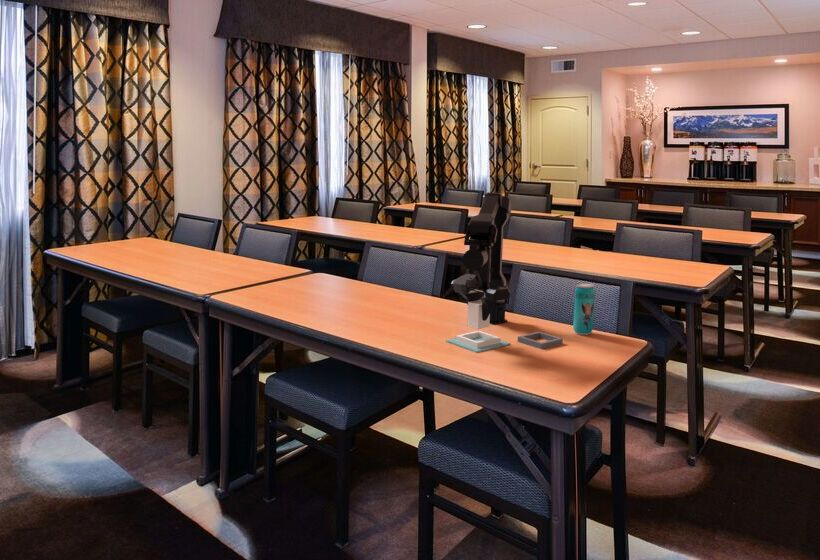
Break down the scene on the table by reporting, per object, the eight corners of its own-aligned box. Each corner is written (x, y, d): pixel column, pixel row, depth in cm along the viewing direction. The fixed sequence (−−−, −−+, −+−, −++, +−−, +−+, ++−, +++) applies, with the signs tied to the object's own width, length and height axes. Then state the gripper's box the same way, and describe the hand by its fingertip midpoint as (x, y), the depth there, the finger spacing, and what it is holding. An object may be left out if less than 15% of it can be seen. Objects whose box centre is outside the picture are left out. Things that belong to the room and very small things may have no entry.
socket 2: (517, 341, 180) (517, 336, 180) (538, 336, 186) (538, 331, 185) (541, 349, 173) (541, 343, 173) (562, 343, 179) (562, 338, 178)
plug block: (467, 325, 178) (468, 301, 177) (480, 323, 181) (481, 299, 180) (478, 329, 174) (478, 304, 173) (490, 326, 177) (491, 302, 176)
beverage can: (579, 336, 186) (582, 287, 183) (569, 331, 191) (572, 283, 188) (596, 335, 187) (599, 286, 184) (585, 330, 193) (588, 282, 190)
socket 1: (445, 341, 180) (446, 335, 179) (479, 334, 187) (479, 328, 187) (476, 352, 169) (476, 346, 169) (510, 344, 177) (510, 338, 177)
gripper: (436, 262, 177) (436, 316, 180) (482, 272, 162) (480, 330, 165) (466, 259, 183) (464, 310, 186) (512, 268, 169) (510, 324, 172)
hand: (478, 318), depth 177 cm, fingers closed on plug block, 4 cm apart
